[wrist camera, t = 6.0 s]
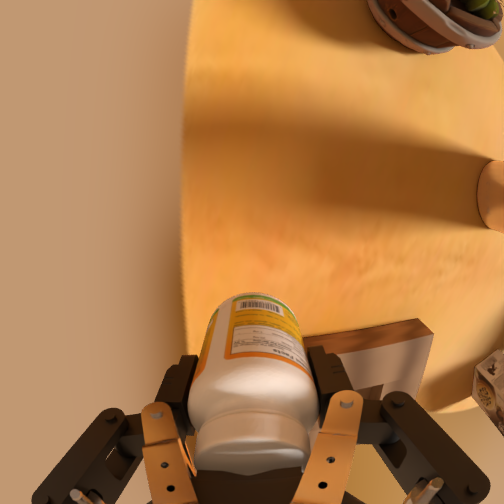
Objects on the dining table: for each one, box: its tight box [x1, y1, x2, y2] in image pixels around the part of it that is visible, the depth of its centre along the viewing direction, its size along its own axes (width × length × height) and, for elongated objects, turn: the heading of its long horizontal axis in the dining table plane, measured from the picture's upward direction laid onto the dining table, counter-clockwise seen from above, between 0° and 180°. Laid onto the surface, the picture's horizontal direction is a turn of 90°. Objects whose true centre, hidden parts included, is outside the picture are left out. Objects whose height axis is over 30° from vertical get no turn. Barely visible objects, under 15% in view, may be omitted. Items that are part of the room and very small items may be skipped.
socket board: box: [302, 318, 434, 452], centre depth 31 cm, size 18×18×4 cm
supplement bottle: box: [188, 292, 319, 475], centre depth 12 cm, size 5×5×10 cm
